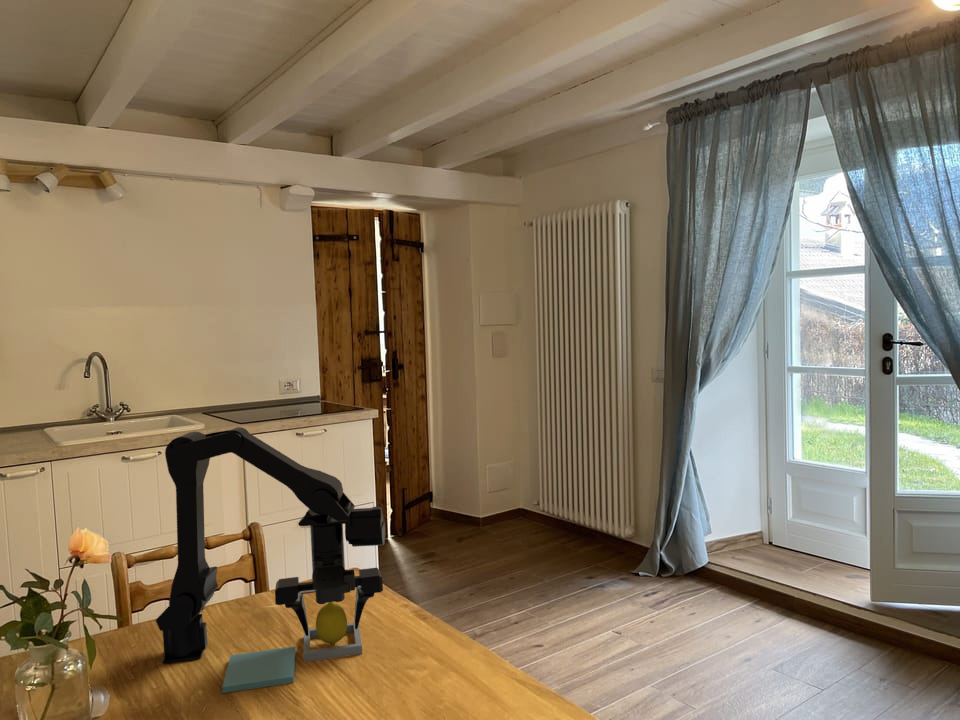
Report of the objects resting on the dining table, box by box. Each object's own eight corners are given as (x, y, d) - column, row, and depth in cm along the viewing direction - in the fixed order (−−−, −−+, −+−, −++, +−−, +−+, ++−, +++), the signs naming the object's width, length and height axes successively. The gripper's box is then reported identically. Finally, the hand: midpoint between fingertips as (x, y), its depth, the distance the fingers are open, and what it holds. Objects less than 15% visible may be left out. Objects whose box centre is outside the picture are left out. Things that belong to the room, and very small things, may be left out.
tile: (222, 693, 110) (222, 687, 110) (230, 660, 121) (230, 655, 121) (293, 682, 113) (293, 676, 113) (295, 651, 124) (295, 646, 124)
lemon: (321, 655, 122) (319, 611, 121) (313, 643, 127) (311, 600, 126) (351, 647, 124) (349, 604, 124) (343, 635, 129) (341, 593, 129)
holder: (303, 662, 120) (303, 653, 120) (304, 637, 129) (304, 629, 129) (362, 653, 122) (361, 645, 122) (358, 629, 132) (358, 621, 132)
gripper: (271, 568, 115) (276, 660, 115) (383, 555, 119) (387, 644, 120) (274, 547, 125) (279, 631, 126) (378, 536, 130) (381, 617, 131)
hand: (331, 631), depth 125 cm, fingers open, 8 cm apart
